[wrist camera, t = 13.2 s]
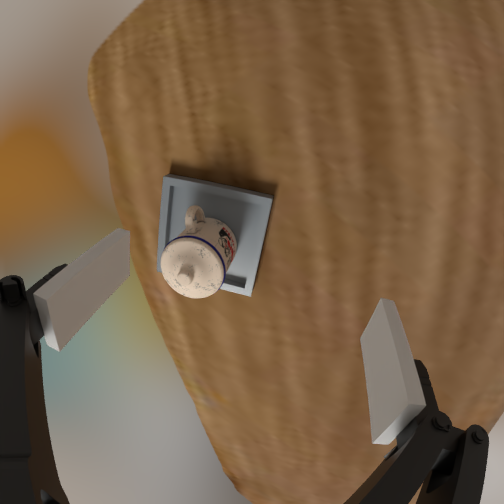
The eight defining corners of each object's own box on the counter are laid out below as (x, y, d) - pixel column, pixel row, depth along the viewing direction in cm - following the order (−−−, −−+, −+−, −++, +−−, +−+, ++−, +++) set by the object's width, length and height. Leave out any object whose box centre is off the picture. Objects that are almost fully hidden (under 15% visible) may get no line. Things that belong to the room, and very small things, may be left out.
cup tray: (169, 173, 45) (163, 176, 43) (273, 195, 44) (272, 199, 42) (161, 265, 52) (156, 271, 50) (252, 290, 51) (250, 296, 49)
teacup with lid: (241, 269, 49) (223, 312, 39) (187, 268, 51) (158, 307, 40) (234, 195, 44) (211, 221, 34) (176, 198, 46) (139, 223, 35)
